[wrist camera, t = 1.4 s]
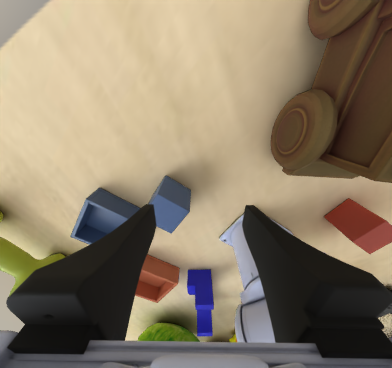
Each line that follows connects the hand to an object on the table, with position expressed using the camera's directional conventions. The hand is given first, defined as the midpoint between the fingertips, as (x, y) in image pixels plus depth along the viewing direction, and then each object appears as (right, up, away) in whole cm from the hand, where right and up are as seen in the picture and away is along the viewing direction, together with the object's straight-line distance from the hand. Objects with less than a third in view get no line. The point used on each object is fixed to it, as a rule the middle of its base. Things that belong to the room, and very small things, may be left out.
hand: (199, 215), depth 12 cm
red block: (+23, -2, +12) cm, 26 cm away
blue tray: (-13, -3, +12) cm, 18 cm away
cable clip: (+1, -20, +21) cm, 29 cm away
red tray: (-9, -15, +18) cm, 25 cm away
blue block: (-4, +1, +10) cm, 11 cm away
